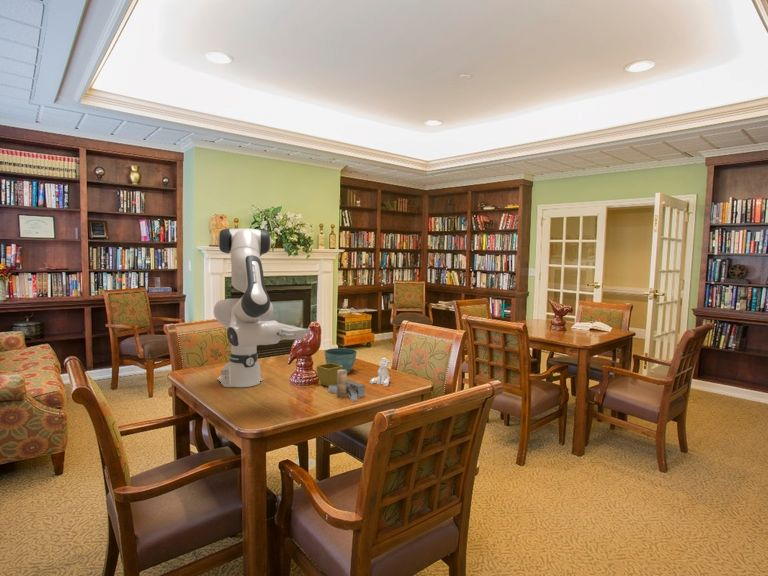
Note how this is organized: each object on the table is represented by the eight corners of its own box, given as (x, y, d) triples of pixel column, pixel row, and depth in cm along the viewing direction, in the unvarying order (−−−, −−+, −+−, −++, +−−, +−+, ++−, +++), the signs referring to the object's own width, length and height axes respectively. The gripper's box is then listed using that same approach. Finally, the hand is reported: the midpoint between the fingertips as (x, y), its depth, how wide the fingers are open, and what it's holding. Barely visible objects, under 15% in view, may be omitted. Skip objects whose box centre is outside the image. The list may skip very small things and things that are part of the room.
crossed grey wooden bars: (326, 391, 203) (327, 380, 203) (341, 388, 209) (342, 377, 209) (353, 401, 190) (353, 389, 190) (368, 398, 196) (368, 386, 196)
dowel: (335, 396, 198) (335, 370, 197) (342, 394, 200) (343, 369, 200) (341, 398, 195) (341, 372, 194) (348, 396, 198) (348, 370, 197)
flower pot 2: (328, 388, 208) (328, 369, 207) (315, 384, 214) (316, 365, 213) (342, 385, 214) (343, 365, 214) (330, 381, 220) (330, 362, 220)
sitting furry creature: (368, 384, 217) (369, 358, 217) (377, 379, 225) (378, 355, 224) (386, 387, 213) (387, 361, 212) (395, 382, 221) (395, 357, 220)
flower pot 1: (362, 372, 238) (363, 351, 237) (339, 378, 226) (339, 356, 225) (341, 366, 249) (341, 346, 248) (317, 372, 237) (318, 351, 236)
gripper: (285, 327, 168) (317, 324, 178) (258, 320, 183) (289, 318, 192) (285, 344, 169) (317, 340, 178) (258, 336, 183) (288, 333, 193)
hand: (302, 329), depth 185 cm, fingers open, 8 cm apart
